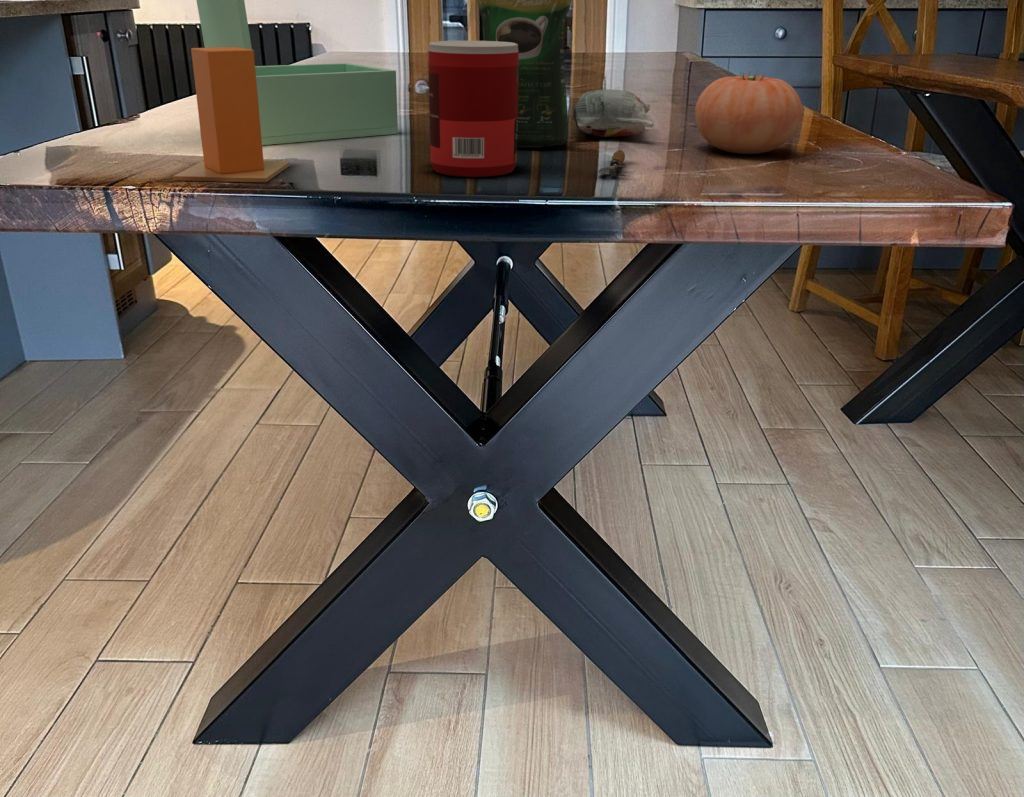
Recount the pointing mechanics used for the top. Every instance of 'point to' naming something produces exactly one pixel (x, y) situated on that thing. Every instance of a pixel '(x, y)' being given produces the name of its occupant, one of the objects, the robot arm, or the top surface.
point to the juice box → (228, 109)
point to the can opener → (615, 163)
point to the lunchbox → (325, 102)
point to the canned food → (473, 107)
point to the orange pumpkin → (748, 113)
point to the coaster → (206, 174)
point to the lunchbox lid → (224, 23)
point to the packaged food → (611, 113)
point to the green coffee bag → (534, 64)
